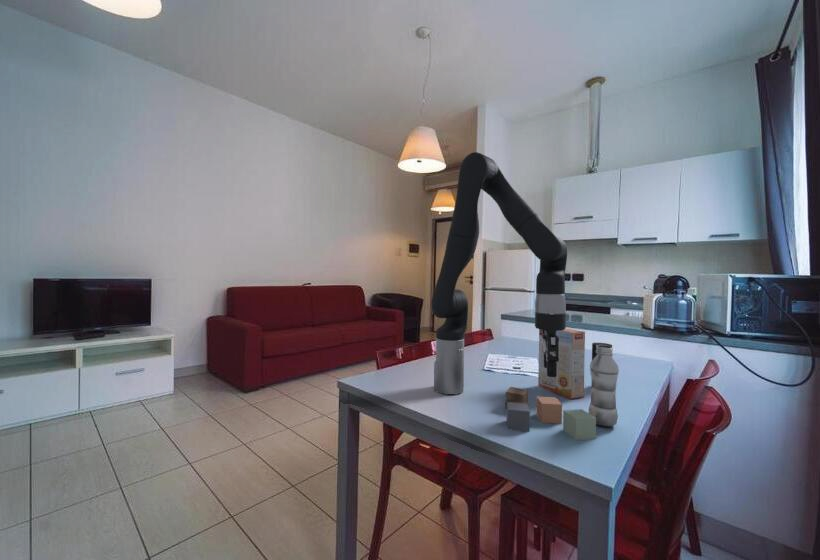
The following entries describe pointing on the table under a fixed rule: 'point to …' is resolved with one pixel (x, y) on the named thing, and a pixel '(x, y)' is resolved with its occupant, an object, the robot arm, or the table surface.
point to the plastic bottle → (604, 387)
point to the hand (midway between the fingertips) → (549, 372)
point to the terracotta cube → (549, 410)
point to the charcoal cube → (518, 416)
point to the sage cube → (579, 424)
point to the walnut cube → (516, 395)
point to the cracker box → (565, 365)
